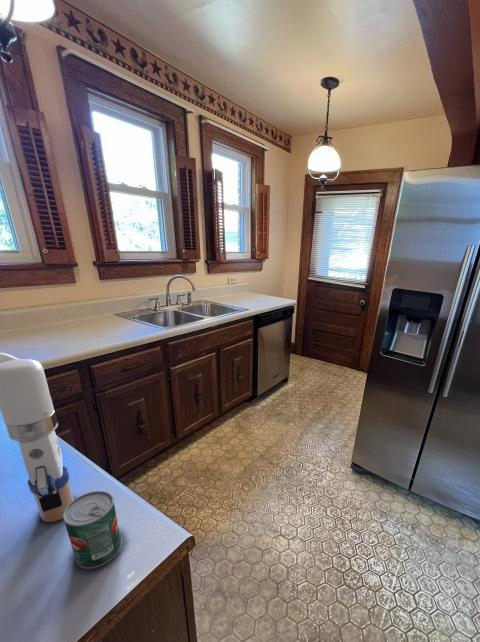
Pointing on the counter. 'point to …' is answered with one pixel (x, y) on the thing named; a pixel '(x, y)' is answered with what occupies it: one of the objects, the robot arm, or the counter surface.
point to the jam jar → (57, 512)
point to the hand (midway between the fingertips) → (53, 492)
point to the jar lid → (58, 482)
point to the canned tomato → (93, 529)
